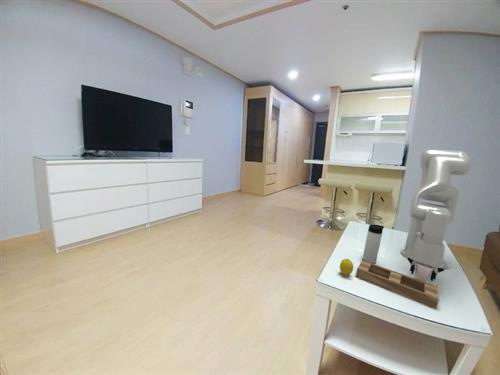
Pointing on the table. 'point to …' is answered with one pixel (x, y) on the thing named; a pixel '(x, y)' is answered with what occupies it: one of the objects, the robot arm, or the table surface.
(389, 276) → the wooden frame
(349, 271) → the lemon
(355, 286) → the table surface
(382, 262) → the table surface
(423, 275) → the smoothie
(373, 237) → the travel mug
